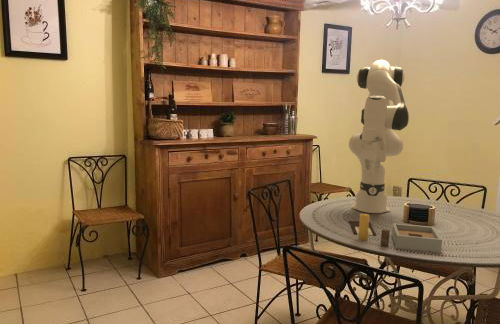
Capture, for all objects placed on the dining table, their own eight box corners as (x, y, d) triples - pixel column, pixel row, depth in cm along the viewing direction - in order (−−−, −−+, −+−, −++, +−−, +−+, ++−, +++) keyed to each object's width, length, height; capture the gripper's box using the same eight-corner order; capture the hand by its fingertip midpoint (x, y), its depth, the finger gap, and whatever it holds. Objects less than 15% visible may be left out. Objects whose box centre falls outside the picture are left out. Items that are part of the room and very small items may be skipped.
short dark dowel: (380, 243, 164) (381, 228, 163) (388, 244, 164) (389, 229, 163) (380, 246, 162) (382, 231, 161) (388, 246, 161) (390, 231, 160)
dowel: (358, 236, 171) (359, 213, 170) (367, 237, 171) (369, 214, 169) (358, 239, 168) (360, 215, 166) (367, 240, 167) (369, 216, 166)
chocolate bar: (369, 221, 191) (376, 234, 173) (369, 223, 191) (375, 236, 173) (349, 220, 192) (353, 233, 174) (349, 222, 192) (353, 235, 175)
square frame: (391, 234, 175) (392, 223, 174) (432, 238, 172) (433, 227, 171) (395, 248, 160) (396, 235, 159) (440, 252, 156) (442, 239, 155)
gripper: (391, 138, 156) (388, 174, 157) (372, 136, 176) (370, 168, 177) (375, 137, 155) (372, 174, 157) (358, 135, 176) (355, 168, 177)
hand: (371, 171), depth 167 cm, fingers open, 8 cm apart
